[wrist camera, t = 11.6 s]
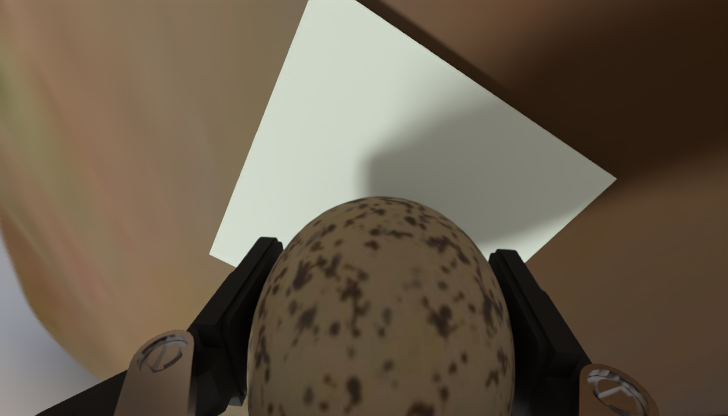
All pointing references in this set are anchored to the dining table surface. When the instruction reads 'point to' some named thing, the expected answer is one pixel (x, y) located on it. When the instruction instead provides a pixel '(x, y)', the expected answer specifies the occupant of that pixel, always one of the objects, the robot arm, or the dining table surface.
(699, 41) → the dining table surface
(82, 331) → the dining table surface
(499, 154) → the sage mat
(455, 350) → the decorative egg
